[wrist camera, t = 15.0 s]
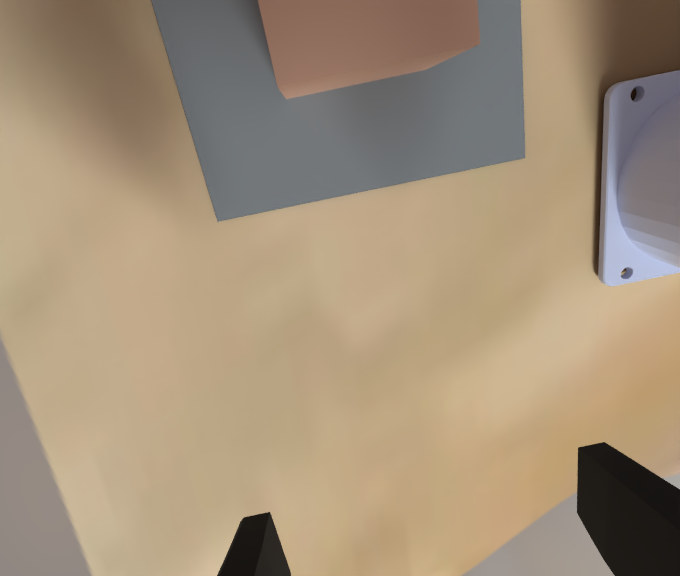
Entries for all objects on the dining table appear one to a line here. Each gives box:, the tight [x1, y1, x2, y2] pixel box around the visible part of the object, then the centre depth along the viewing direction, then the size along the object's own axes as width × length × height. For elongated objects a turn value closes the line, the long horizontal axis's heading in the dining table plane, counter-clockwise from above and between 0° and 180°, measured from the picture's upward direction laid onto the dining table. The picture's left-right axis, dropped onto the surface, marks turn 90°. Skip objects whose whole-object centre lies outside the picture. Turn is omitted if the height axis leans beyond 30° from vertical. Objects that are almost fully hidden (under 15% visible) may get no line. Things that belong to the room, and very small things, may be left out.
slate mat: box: [151, 0, 525, 221], centre depth 14 cm, size 12×12×1 cm
